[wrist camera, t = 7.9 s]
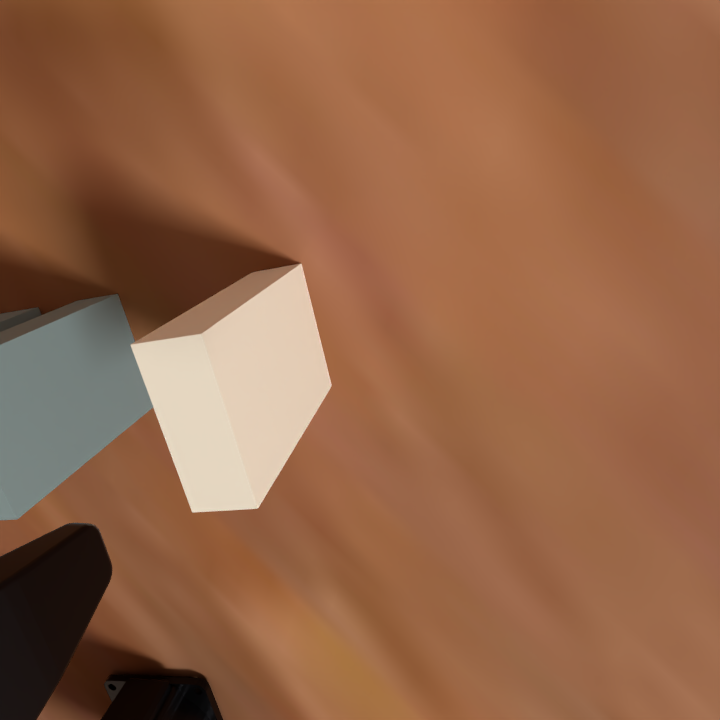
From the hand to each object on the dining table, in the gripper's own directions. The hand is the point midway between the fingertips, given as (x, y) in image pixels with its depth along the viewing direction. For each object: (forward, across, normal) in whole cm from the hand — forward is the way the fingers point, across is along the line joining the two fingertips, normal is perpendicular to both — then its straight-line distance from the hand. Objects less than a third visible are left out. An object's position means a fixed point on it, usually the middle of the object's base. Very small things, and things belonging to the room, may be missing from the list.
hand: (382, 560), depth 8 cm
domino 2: (+13, +6, +1) cm, 15 cm away
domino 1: (+13, +14, +2) cm, 19 cm away
